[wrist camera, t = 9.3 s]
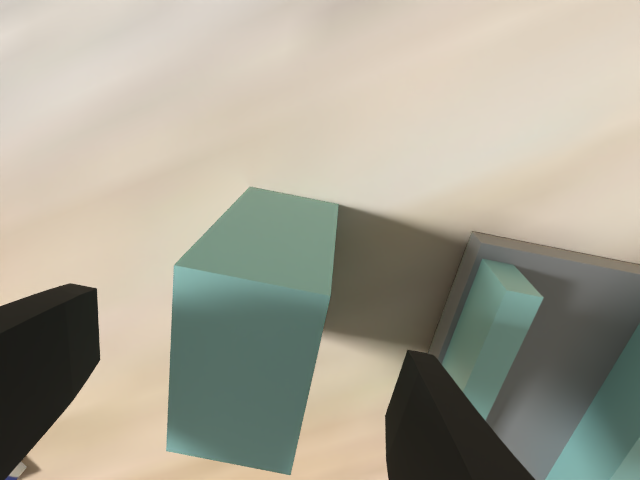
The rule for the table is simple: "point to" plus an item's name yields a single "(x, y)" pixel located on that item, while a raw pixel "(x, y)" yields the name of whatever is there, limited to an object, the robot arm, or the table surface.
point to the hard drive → (16, 472)
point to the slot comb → (548, 355)
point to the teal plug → (250, 329)
